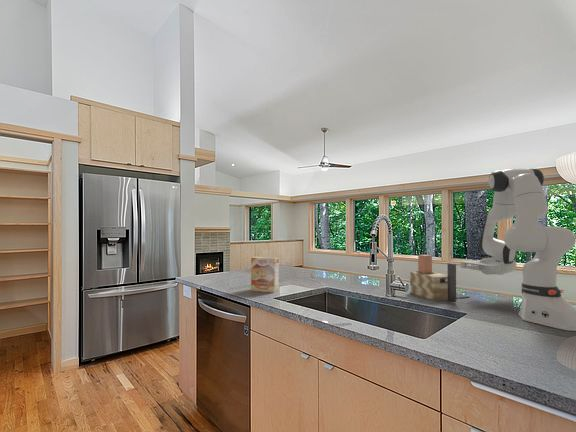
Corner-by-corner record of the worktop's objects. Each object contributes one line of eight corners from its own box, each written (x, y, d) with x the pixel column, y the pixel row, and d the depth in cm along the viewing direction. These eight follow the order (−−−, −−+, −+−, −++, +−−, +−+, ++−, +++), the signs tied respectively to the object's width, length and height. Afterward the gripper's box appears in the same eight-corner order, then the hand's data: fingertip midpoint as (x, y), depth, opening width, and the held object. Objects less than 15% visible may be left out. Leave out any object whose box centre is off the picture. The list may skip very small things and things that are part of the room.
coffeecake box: (250, 290, 181) (250, 257, 182) (255, 288, 188) (255, 256, 189) (274, 292, 177) (274, 258, 177) (278, 290, 183) (279, 257, 184)
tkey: (456, 302, 156) (456, 264, 156) (454, 302, 155) (453, 264, 156) (444, 298, 163) (444, 262, 164) (442, 298, 163) (442, 262, 163)
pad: (469, 297, 168) (469, 296, 168) (456, 298, 165) (456, 297, 165) (456, 293, 177) (456, 292, 177) (443, 294, 174) (443, 293, 174)
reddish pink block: (431, 273, 174) (431, 255, 175) (424, 273, 173) (424, 255, 173) (425, 272, 179) (425, 254, 179) (418, 272, 178) (418, 254, 178)
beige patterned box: (452, 298, 165) (452, 275, 165) (434, 300, 161) (433, 276, 162) (427, 291, 182) (427, 270, 183) (410, 292, 179) (410, 270, 179)
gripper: (471, 258, 176) (452, 258, 171) (506, 262, 156) (485, 263, 152) (471, 269, 175) (452, 270, 171) (506, 275, 156) (485, 276, 152)
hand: (468, 267), depth 161 cm, fingers closed
